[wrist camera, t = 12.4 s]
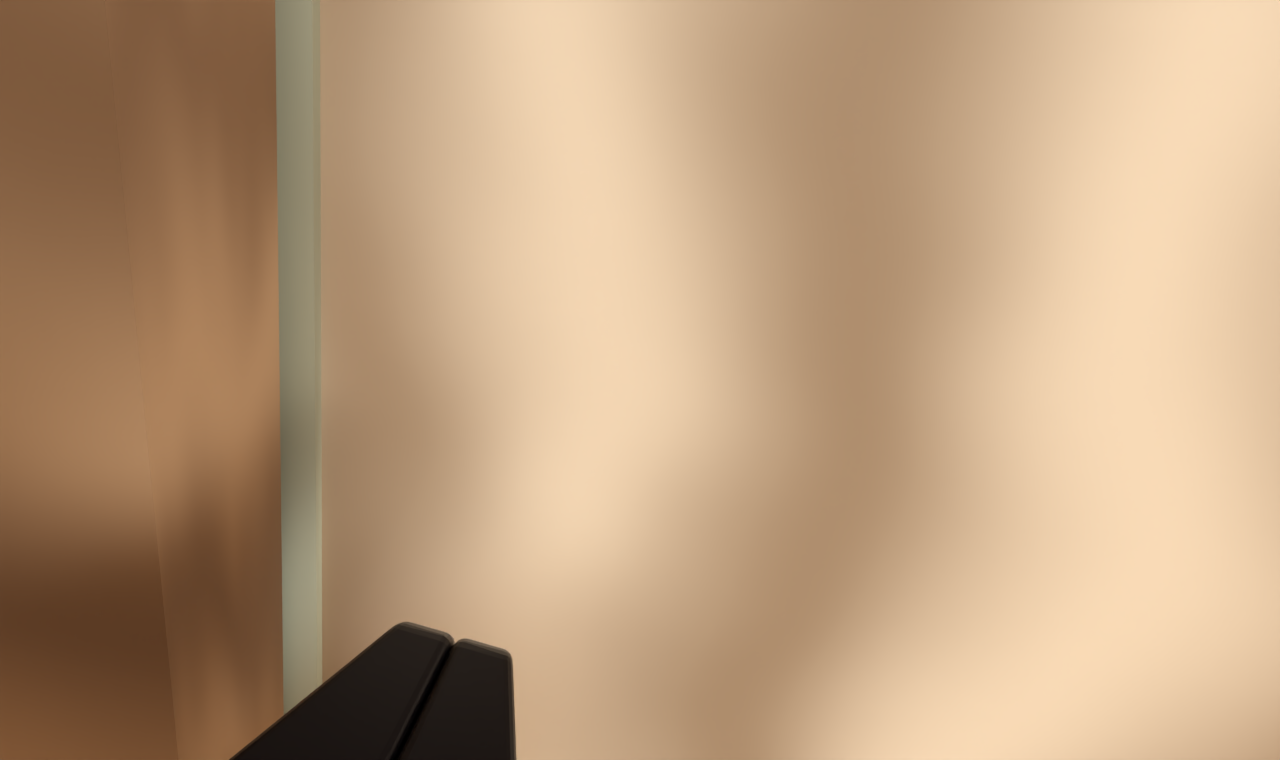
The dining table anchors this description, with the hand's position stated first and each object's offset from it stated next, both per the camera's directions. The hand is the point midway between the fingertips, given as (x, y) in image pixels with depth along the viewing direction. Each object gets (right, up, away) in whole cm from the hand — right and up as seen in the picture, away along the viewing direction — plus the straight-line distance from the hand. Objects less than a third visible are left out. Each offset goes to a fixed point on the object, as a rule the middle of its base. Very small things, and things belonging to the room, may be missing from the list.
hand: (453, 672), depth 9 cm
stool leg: (-5, 0, +8) cm, 10 cm away
